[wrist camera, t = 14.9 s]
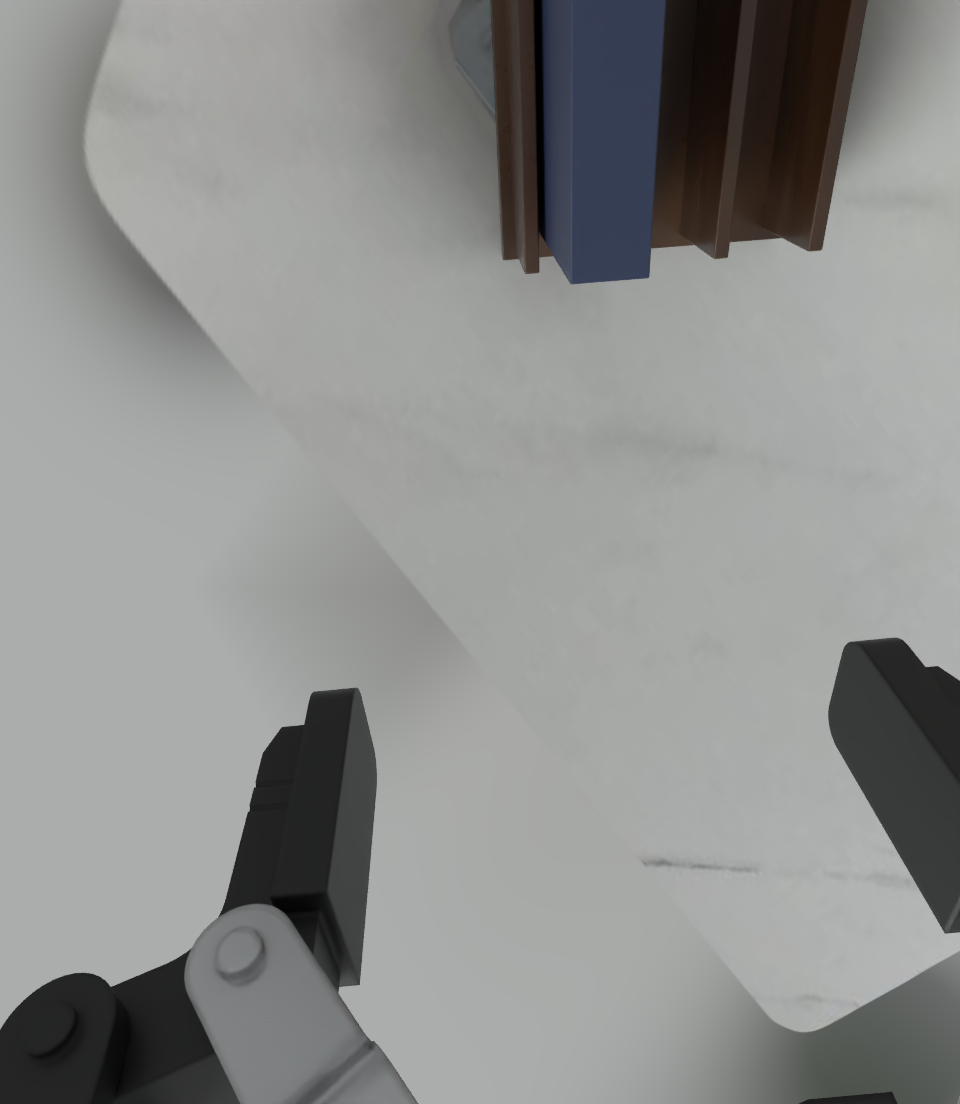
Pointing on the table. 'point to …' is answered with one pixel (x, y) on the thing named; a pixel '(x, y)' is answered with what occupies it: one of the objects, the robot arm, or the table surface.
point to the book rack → (706, 122)
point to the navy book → (598, 133)
